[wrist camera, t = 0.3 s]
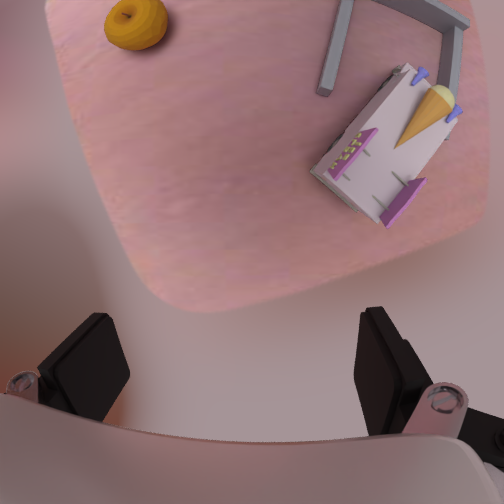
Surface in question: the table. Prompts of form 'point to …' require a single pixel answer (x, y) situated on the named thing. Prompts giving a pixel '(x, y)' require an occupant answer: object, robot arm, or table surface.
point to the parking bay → (420, 8)
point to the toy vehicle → (389, 145)
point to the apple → (136, 24)
